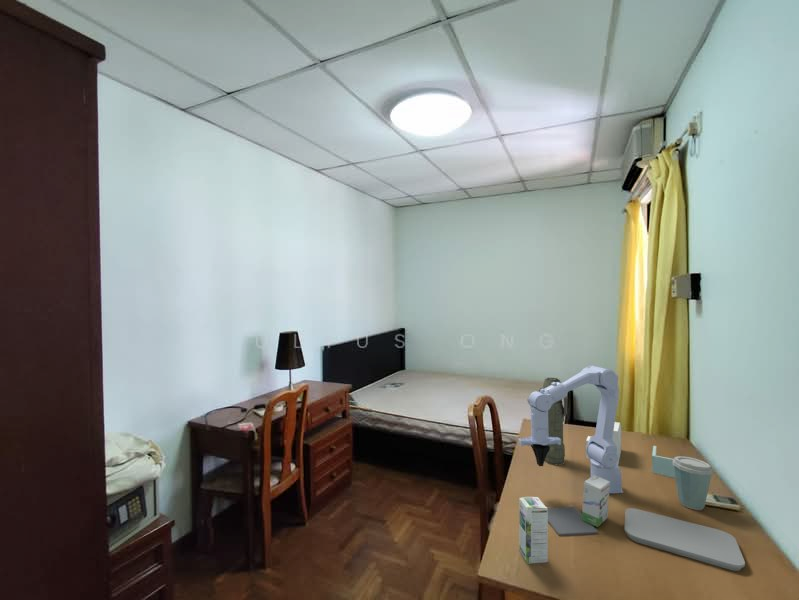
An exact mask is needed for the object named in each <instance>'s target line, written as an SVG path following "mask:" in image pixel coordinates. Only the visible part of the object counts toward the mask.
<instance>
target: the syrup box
mask: <svg viewBox="0 0 799 600" xmlns="http://www.w3.org/2000/svg"><path fill="white" fill-rule="evenodd" d="M518 499H519V500H518V501H519V503H518V505H519V511H518V512H519V514H518V515H519V516H518V520H519V521H518V525H519V526H518V532H519V533H518V537H519V538H518V544H519V546H518V549H519V552H520V554H521V555H522V557H523V559H524V560H525V562H526V563H527V565H528V564H529V565H530V564H542V563H543V564H544V563H548V562H549V560H548V559H549V555H548V553H549V552H548V550H549V542H548V540H549V537H548V536H549V534H548V531H549V529H548V527H549V525H548V524H549V523H548V508H549V507H547V506H546V505H545V503H544V502H543V501H542V500H541V499H540V498H539V497H538V496H523V497H519V498H518Z"/></svg>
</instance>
